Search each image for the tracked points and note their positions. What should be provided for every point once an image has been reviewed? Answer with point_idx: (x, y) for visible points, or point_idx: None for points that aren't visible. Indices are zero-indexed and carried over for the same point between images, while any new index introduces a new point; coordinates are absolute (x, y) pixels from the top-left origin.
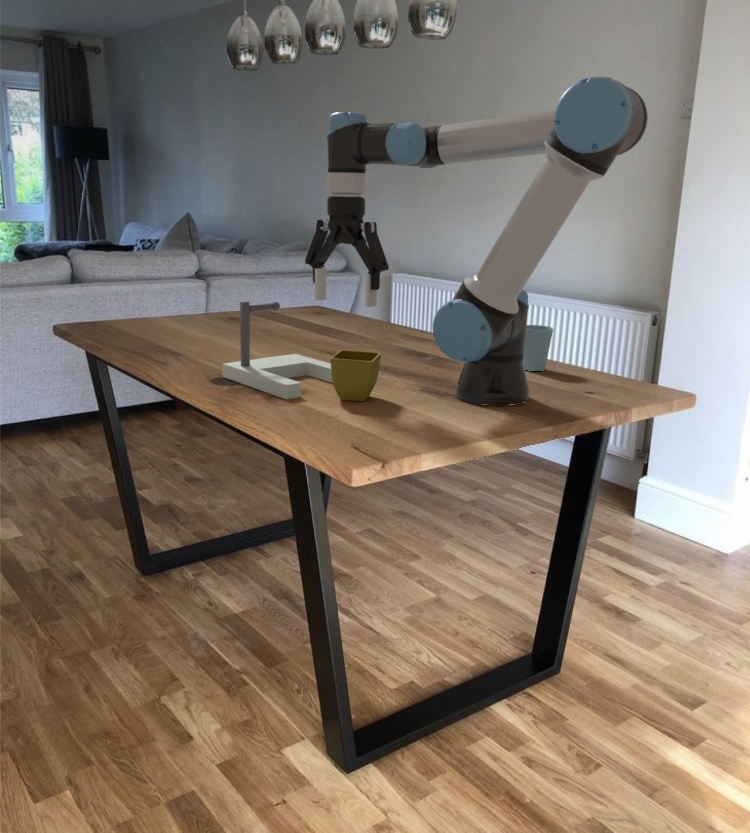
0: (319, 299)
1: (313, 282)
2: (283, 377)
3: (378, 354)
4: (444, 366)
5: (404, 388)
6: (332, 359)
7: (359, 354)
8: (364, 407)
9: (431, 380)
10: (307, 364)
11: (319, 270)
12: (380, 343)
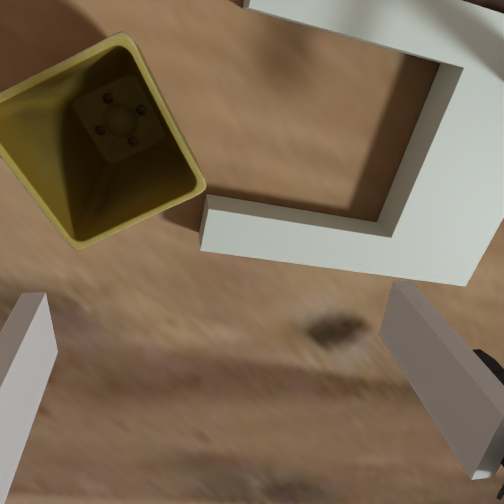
0: (391, 296)
1: (483, 352)
2: (338, 27)
3: (57, 224)
4: (188, 466)
5: (109, 287)
6: (115, 33)
7: (140, 209)
8: (19, 48)
9: (121, 377)
10: (386, 234)
11: (487, 419)
12: (397, 500)
